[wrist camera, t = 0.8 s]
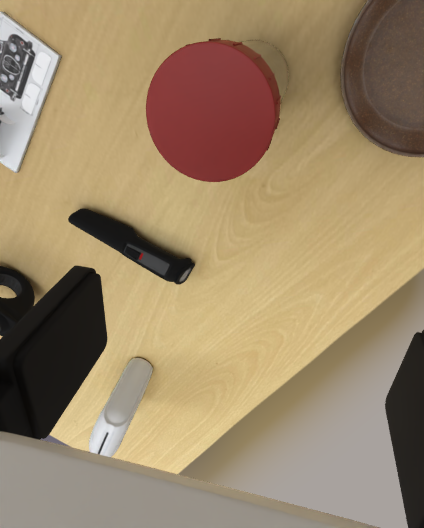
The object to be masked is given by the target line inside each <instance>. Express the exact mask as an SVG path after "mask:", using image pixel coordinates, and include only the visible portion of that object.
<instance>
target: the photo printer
mask: <svg viewBox="0 0 424 528" xmlns="http://www.w3.org/2000/svg"><path fill="white" fill-rule="evenodd" d="M152 371H153V367H151V364H150V363H149V362H148V361H146V360H144V359H141V358H135V359H134V358H132V359H131V360H130V362H129V363H128V364H127V366H126V368H125V370H124V371H123V373H122V375H121V377H120V379H119V381H118V383H117V384H116V386H115V388H114V390H113V392H112V394H111V395H110V397H109V399H108V401H107V403H106V404H105V406H104V408H103V410H102V411H101V413H100V415H99V417H98V419H97V421H96V423H95V426H94V428H93V431H92V433H91V437H90V440H89V450H90V452H92V453H96V454H99V455H103V456H107V457H111V456H113V455H114V454H115V452H116V451H117V449H118V448H119V446H120V444H121V442H122V440H123V438H124V435H125V433H126V431H127V429H128V427H129V425H130V423H131V421H132V419H133V416H134V414H135V412H136V410H137V408H138V406H139V404H140V401H141V399H142V397H143V395H144V392H145V390H146V388H147V385H148V383H149V380H150V378H151V375H152Z"/></svg>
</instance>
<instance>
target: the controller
mask: <svg viewBox="0 0 424 528" xmlns="http://www.w3.org/2000/svg"><path fill="white" fill-rule="evenodd" d="M0 285H4V286H7V287H9V288H11V289H12V290H13V291H14V292H15V293H16V295H17V297H15V298H1V297H0V335H1V336H4V335H5V334H6V333H7V332H8V331H9V330H10V329H11V328H12V327H13V326H14V325H15V324H16V323H17V322H18V321H19V320H20V319H21V318H22V317H23V316H24V315H25V314H26V313H27V312H28V311H29V310H30V309H31V308H32V307H33V305H34V299H35V296H34V291H33V288H32V286H31V284H30V283H29V281H28V280H27V279H26V278H25V277H24V276H23V275H21V274H20V273H18V272H17V271H15V270H12V269H10V268H7V267H3V266H0Z"/></svg>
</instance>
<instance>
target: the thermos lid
mask: <svg viewBox="0 0 424 528" xmlns="http://www.w3.org/2000/svg"><path fill="white" fill-rule="evenodd" d="M261 56H262V55H261V54H258V53H256V52H255V51H254V50H252V49H251V48H249V47H247V46H245V45H243V44H242V42H234V41H229V40H221V38H218V39H209V41H207V42H198V43H194V44H188V45H186V46H185V47H183V48H180V49H179V50H177V51H176V52H174V53H172V54H171V55H170V56H169V57H168V58H167V59H166V60H165V61H164V62H163V63H162V64H161V65H160V67H159V68H158V70H157V71H156V73H155V75H154V77H153V79H152V81H151V84H150V87H149V90H148V95H147V101H146V117H147V123H148V128H149V131H150V135H151V137H152V139H153V142H154V144H155V146H156V147H157V149H158V151H159V152H160V154H161V155H162V156H163V157H164V159H165V160H166V161H167V162H168V163H169V164H170V165H171V166H173V167H174V168H175V169H176V170H178V171H179V172H181V173H183V174H184V175H186V176H188V177H191V178H194V179H197V180H201V181H207V182H220V181H227V180H230V179H233V178H236V177H238V176H240V175H242V174H244V173H245V172H247V171H249V170H250V169H251V168H252V167H253V166H255V165H256V163H257V162H258V161H259V160H260V159H261V158H262V156H263V155H264V154H265V152H266V150H268V148H269V146H270V143H271V140H272V137H273V134H274V131H275V129H277V126H278V123H279V120H280V118H279V114H280V99H281V95H280V94H279V88H278V85H277V81H276V79H275V76H274V75H275V73H273V72H272V70H271V69H270V67H269V66H268V64H267V63H266V62H265V60H264V59H263V58H262V57H261Z"/></svg>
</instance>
